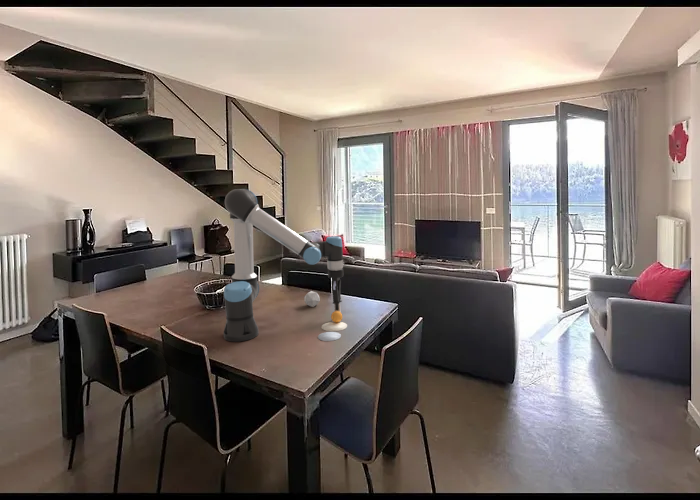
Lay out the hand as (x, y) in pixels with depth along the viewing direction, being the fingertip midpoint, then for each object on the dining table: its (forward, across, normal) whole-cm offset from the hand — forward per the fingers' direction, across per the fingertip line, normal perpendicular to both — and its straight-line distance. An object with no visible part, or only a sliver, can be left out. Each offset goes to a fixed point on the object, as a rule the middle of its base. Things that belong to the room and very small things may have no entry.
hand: (337, 315), depth 188 cm
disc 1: (+2, -9, 0) cm, 10 cm away
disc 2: (+2, -21, 0) cm, 21 cm away
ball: (-1, -3, 0) cm, 3 cm away
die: (+3, +22, +18) cm, 28 cm away
